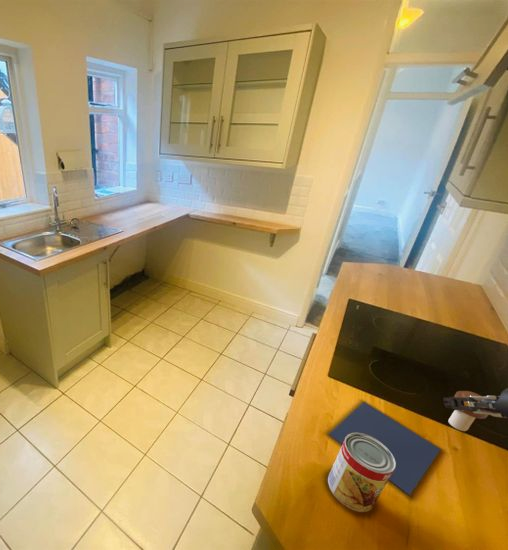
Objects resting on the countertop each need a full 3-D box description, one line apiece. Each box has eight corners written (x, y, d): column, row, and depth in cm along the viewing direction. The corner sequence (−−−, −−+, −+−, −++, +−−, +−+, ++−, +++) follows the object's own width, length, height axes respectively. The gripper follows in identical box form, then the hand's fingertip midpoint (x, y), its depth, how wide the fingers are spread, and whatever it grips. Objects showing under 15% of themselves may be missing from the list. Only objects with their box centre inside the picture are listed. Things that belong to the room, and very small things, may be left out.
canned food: (380, 518, 57) (404, 478, 52) (333, 504, 59) (352, 465, 53) (364, 476, 64) (385, 438, 58) (323, 466, 65) (339, 428, 60)
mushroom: (445, 410, 72) (462, 384, 69) (478, 428, 68) (497, 401, 65) (437, 421, 70) (454, 394, 66) (470, 440, 65) (490, 413, 62)
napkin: (363, 402, 81) (364, 401, 81) (440, 450, 69) (440, 449, 69) (328, 434, 72) (328, 433, 72) (409, 495, 60) (409, 495, 60)
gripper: (586, 390, 53) (489, 389, 69) (497, 383, 55) (422, 383, 70) (605, 438, 51) (500, 425, 67) (511, 429, 52) (430, 419, 68)
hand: (460, 404), depth 68 cm, fingers closed on mushroom, 5 cm apart
